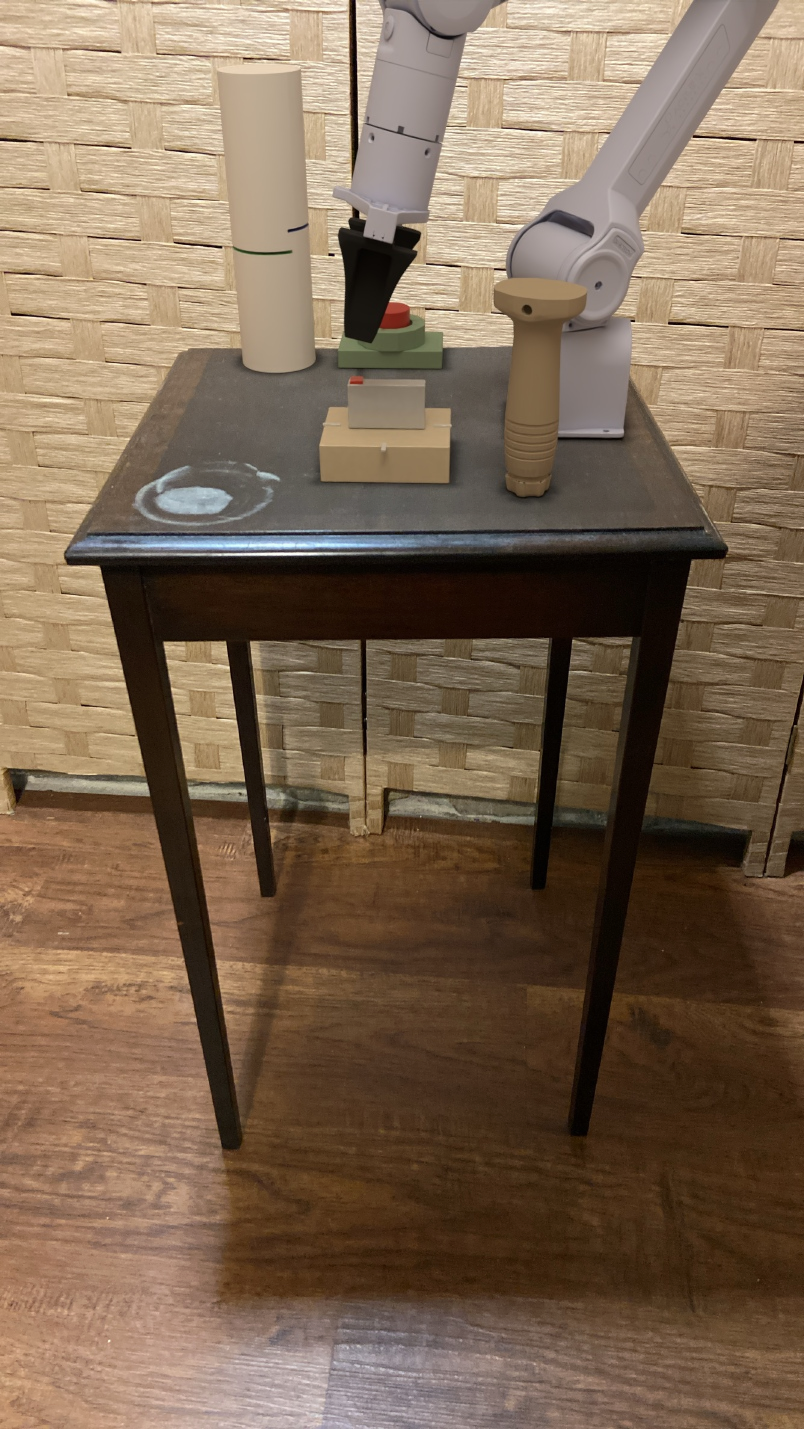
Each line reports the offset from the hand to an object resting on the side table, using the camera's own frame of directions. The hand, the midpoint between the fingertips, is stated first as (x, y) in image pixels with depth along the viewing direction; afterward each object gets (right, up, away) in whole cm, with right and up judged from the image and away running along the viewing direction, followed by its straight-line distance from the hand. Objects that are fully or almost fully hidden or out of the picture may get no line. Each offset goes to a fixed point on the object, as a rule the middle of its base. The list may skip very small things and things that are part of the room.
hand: (361, 329), depth 85 cm
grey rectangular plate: (+2, -6, +4) cm, 8 cm away
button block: (+2, +6, +26) cm, 26 cm away
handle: (+13, -12, +1) cm, 18 cm away
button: (+2, +8, +24) cm, 25 cm away
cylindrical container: (-9, +5, +25) cm, 27 cm away
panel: (+2, -9, +5) cm, 10 cm away
